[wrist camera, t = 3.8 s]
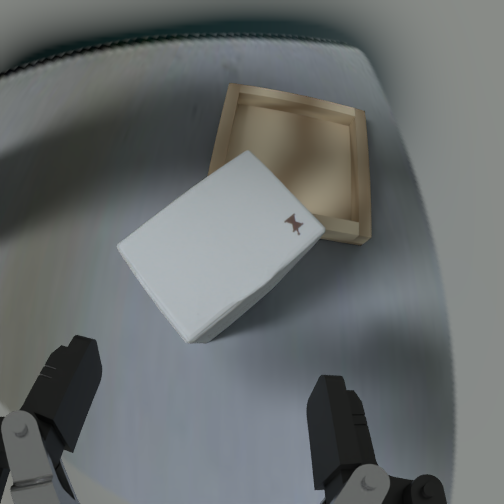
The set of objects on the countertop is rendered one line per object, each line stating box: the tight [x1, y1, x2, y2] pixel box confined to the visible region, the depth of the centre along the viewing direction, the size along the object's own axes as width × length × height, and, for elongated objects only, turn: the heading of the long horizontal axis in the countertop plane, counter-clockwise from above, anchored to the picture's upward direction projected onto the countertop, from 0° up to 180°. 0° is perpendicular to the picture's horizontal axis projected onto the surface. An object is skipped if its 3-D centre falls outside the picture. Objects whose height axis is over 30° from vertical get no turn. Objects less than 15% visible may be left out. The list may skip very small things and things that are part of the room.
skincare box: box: [117, 150, 326, 343], centre depth 16 cm, size 6×4×12 cm
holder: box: [207, 83, 371, 246], centre depth 24 cm, size 12×12×2 cm
